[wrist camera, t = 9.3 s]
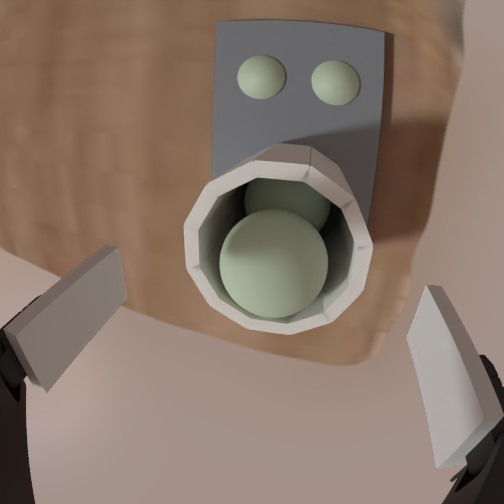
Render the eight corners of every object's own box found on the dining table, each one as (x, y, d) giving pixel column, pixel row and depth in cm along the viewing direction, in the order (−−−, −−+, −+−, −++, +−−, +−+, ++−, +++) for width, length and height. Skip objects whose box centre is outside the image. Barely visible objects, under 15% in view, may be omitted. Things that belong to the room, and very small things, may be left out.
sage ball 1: (256, 164, 24) (241, 147, 18) (330, 171, 23) (338, 155, 17) (249, 237, 25) (231, 242, 19) (323, 246, 24) (328, 253, 18)
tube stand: (219, 24, 20) (160, -24, 10) (382, 34, 18) (425, -15, 8) (214, 247, 28) (165, 316, 19) (357, 264, 26) (375, 346, 17)
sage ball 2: (218, 187, 15) (195, 306, 14) (339, 200, 14) (323, 328, 13) (241, 220, 21) (225, 308, 20) (329, 232, 20) (316, 323, 19)
